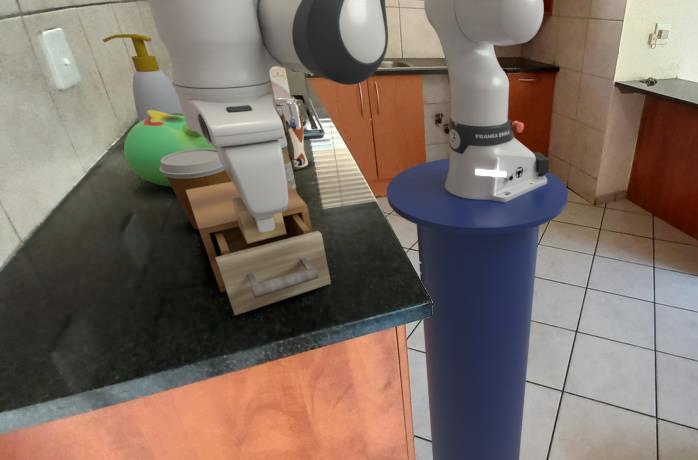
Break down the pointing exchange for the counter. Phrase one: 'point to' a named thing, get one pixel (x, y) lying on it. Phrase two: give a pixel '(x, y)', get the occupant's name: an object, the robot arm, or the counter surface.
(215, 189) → the cabinet
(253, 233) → the block
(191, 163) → the disposable coffee cup
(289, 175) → the sprinkles bottle
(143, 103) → the soap bottle
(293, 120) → the beer glass
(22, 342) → the counter surface
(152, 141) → the toy bird
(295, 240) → the drawer
